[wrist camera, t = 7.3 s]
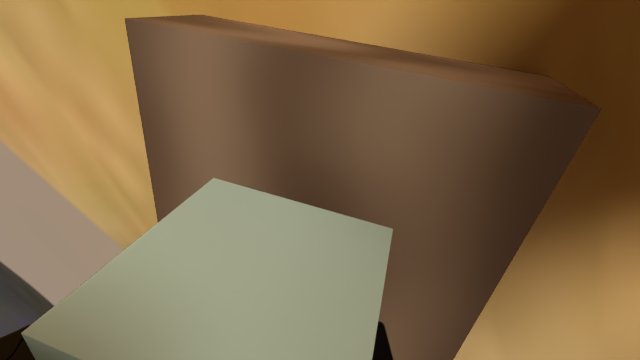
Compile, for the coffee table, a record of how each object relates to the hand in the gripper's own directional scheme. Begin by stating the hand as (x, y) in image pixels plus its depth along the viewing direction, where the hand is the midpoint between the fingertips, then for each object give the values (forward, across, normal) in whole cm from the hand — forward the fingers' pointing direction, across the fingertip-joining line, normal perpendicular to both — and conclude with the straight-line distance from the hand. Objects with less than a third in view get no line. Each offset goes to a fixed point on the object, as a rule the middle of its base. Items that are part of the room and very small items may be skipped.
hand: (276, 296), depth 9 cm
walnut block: (+6, 0, 0) cm, 6 cm away
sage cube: (+1, 0, 0) cm, 1 cm away
